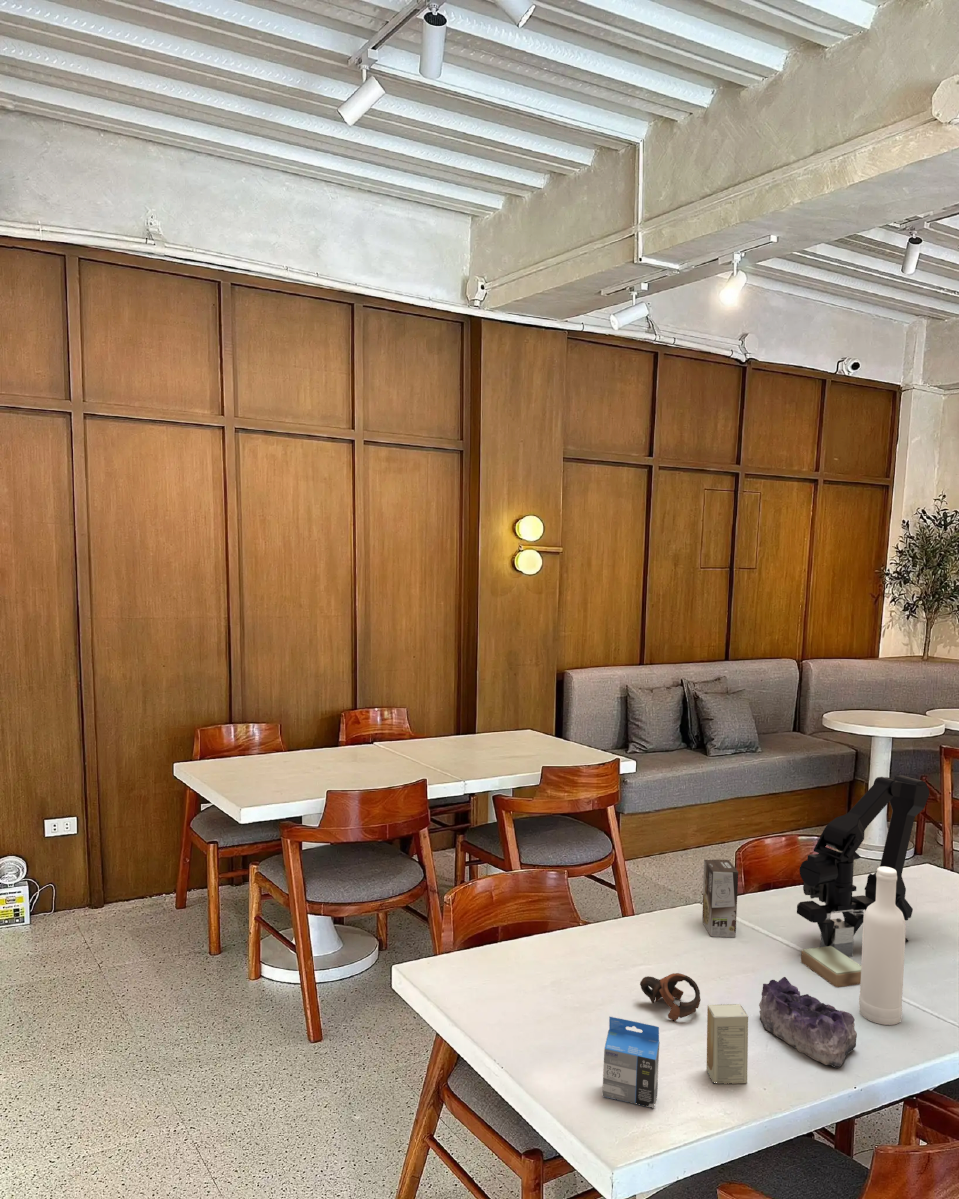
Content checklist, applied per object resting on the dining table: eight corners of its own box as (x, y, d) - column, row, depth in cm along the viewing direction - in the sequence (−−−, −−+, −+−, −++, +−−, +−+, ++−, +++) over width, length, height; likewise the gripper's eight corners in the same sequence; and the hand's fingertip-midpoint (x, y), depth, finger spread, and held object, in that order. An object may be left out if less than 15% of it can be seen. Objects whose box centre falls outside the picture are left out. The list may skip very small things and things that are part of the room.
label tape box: (601, 1097, 149) (603, 1026, 149) (606, 1084, 153) (608, 1015, 152) (653, 1110, 146) (656, 1038, 145) (658, 1096, 150) (660, 1025, 149)
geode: (738, 1026, 173) (743, 974, 174) (775, 1017, 180) (780, 967, 180) (830, 1074, 156) (835, 1016, 157) (868, 1062, 163) (872, 1007, 163)
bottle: (883, 1029, 173) (890, 878, 171) (849, 1010, 180) (856, 865, 178) (910, 1020, 176) (917, 872, 175) (876, 1002, 183) (883, 860, 182)
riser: (830, 958, 203) (831, 945, 203) (867, 983, 192) (868, 969, 191) (801, 962, 201) (801, 949, 201) (836, 987, 189) (836, 973, 189)
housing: (838, 947, 209) (839, 917, 208) (852, 956, 204) (854, 925, 204) (820, 949, 207) (821, 919, 207) (834, 959, 203) (835, 928, 202)
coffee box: (736, 937, 213) (739, 872, 212) (710, 937, 213) (712, 871, 212) (727, 922, 222) (729, 858, 221) (701, 921, 222) (703, 858, 221)
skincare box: (739, 1069, 158) (742, 1003, 157) (747, 1084, 154) (750, 1016, 153) (704, 1069, 158) (706, 1003, 157) (711, 1084, 154) (713, 1016, 153)
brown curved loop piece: (694, 1000, 183) (706, 976, 179) (689, 1041, 176) (701, 1017, 171) (637, 979, 186) (648, 955, 181) (630, 1019, 178) (641, 994, 173)
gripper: (849, 863, 215) (847, 926, 216) (783, 869, 210) (780, 934, 211) (882, 880, 204) (879, 946, 205) (813, 887, 199) (810, 954, 200)
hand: (836, 944), depth 206 cm, fingers closed on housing, 5 cm apart
